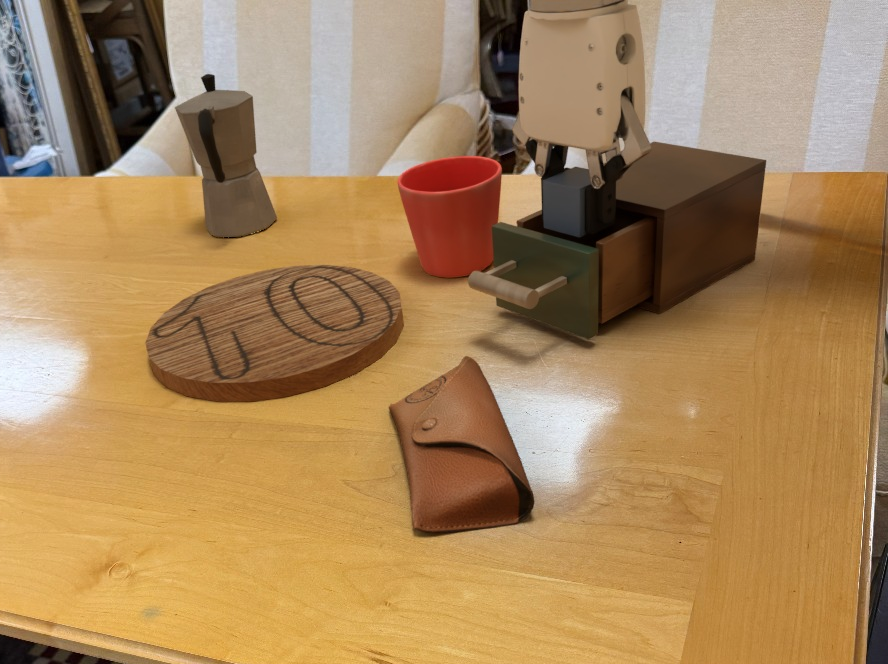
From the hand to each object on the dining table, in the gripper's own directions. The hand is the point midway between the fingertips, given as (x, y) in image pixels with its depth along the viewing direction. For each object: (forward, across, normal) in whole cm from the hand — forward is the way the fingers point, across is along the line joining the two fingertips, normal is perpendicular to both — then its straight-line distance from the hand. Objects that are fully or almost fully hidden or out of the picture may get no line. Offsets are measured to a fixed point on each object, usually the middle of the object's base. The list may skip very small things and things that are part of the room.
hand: (577, 221), depth 80 cm
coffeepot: (+9, +50, +7) cm, 51 cm away
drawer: (+8, 0, +1) cm, 8 cm away
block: (0, 0, 0) cm, 0 cm away
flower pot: (+9, +18, -1) cm, 20 cm away
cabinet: (+9, 0, -11) cm, 14 cm away
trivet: (+9, +20, +21) cm, 30 cm away
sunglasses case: (+9, -9, +24) cm, 27 cm away
